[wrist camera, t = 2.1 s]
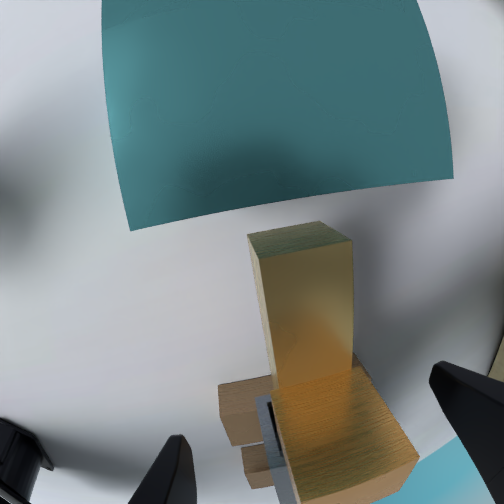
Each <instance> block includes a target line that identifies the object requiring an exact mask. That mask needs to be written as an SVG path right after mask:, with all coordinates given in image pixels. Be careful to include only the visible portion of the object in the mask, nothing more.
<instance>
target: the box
mask: <svg viewBox="0 0 504 504" xmlns="http://www.w3.org/2000/svg"><path fill="white" fill-rule="evenodd" d="M488 377H490V378H493V379H496V380H499V381H502V382H504V336H503V339H502V342H501V345H500V348H499V350H498V353H497V356H496V358H495V361H494V363H493V366H492V368H491V371H490V373H489V375H488Z"/></svg>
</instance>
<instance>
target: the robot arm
mask: <svg viewBox="0 0 504 504" xmlns="http://www.w3.org/2000/svg"><path fill="white" fill-rule="evenodd" d="M429 384H430V387H431V389H432V390H433V392H434V394H435V396H436V398H437V400H438V402H439V405H440V407H441V409H442V411H443V412H444V414H445V416H446V418H447V419H448V421H449V423H450V424H451V426H452V427H453V429H454V431H455V432H456V434H457V435H458V437H459V438H460V440H461V442H462V444H463V445H464V447H465V448H466V450H467V452H468V454H469V455H470V457H471V459H472V460H473V462H474V464H475V466H476V468H477V469H478V471H479V473H480V475H481V476H482V478H483V480H484V482H485V484H486V486H487V488H488V490H489V492H490V494H491V496H492V498H493V499H494V501H495V503H496V504H504V382H502V381H499V380H496V379H493V378H490V377H487V376H484V375H482V374H479V373H476V372H473V371H470V370H468V369H465V368H462V367H459V366H457V365H454V364H451V363H449V362H446V361H440V362H438V363H436V364H434V365H433V367H432V371H431V374H430V378H429ZM40 467H43V468H45V469H47V470H50V471H53V470H54V467H53V465H52V463H51V462H50V460H49V459H48V457H47V455H46V454H45V452H44V450H43V449H42V447H41V445H40V444H39V442H38V440H37V438H36V437H35V436H34V435H32V434H30V433H28V432H26V431H23V430H21V429H19V428H17V427H15V426H13V425H11V424H8V423H6V422H4V421H2V420H0V504H11V503H12V504H31V503H30V502H29V500H30V497H31V494H32V491H33V488H34V484H35V481H36V478H37V475H38V473H39V470H40ZM1 496H2V497H3V498H4V499H3V498H2V497H1ZM5 499H6V500H7V501H6V500H5ZM8 501H9V502H10V503H9V502H8ZM128 504H197V488H196V480H195V472H194V465H193V456H192V450H191V447H190V445H189V444H188V442H187V440H186V439H185V437H184V436H183V435H182V434H179V435H171V436H170V437H169V438H168V440H167V442H166V443H165V445H164V447H163V448H162V450H161V451H160V453H159V455H158V456H157V458H156V460H155V461H154V463H153V464H152V466H151V468H150V469H149V471H148V472H147V474H146V476H145V477H144V479H143V480H142V482H141V483H140V485H139V487H138V488H137V490H136V491H135V493H134V494H133V496H132V498H131V499H130V501H129V502H128Z"/></svg>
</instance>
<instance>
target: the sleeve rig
mask: <svg viewBox="0 0 504 504" xmlns="http://www.w3.org/2000/svg"><path fill="white" fill-rule="evenodd" d="M102 55H103V71H104V83H105V94H106V103H107V111H108V119H109V126H110V133H111V140H112V146H113V152H114V158H115V163H116V169H117V174H118V179H119V184H120V189H121V193H122V198H123V203H124V207H125V211H126V215H127V220H128V224H129V228H130V231H134V230H138V229H142V228H147V227H151V226H156V225H160V224H165V223H169V222H174V221H179V220H184V219H188V218H193V217H198V216H203V215H208V214H213V213H218V212H223V211H229V210H234V209H239V208H245V207H250V206H256V205H261V204H267V203H273V202H279V201H285V200H291V199H297V198H303V197H309V196H316V195H322V194H329V193H336V192H343V191H350V190H357V189H364V188H372V187H380V186H388V185H396V184H405V183H414V182H423V181H433V180H443V179H454V177H453V160H452V148H451V138H450V130H449V122H448V115H447V109H446V103H445V98H444V92H443V87H442V83H441V78H440V74H439V69H438V65H437V61H436V58H435V54H434V50H433V47H432V43H431V40H430V37H429V34H428V31H427V28H426V25H425V22H424V19H423V16H422V13H421V11H420V8H419V6H418V3H417V0H102ZM358 366H360V367H361V368H362V370H363V371H364V373H365V374H366V376H367V377H368V379H369V380H370V382H371V377H370V375H369V374H368V372H367V371H366V369H365V368H364V367H363V365H362V364H361V362H360V361H359V359H358V358H357V356H356V355H355V354H354V353H352V368H355V367H358ZM271 390H274V388H273V382H272V376H271V375H269V376H264V377H260V378H255V379H250V380H245V381H239V382H234V383H228V384H222V385H218V396H219V411H220V418H221V421H222V423H223V425H224V428H225V430H226V433H227V435H228V437H229V440H230V442H231V445H232V446H238V445H244V444H250V443H255V442H260V441H264V444H261V445H256V446H250V447H244V448H241V452H242V459H243V465H244V472H245V476H246V478H247V480H248V482H249V484H250V486H251V488H252V489H257V488H263V487H268V486H275V489H276V492H277V495H278V499H279V502H280V504H297V502H296V498H295V494H294V491H293V487H292V484H291V480H290V476H289V473H288V469H287V465H286V462H285V458H284V454H283V451H282V447H281V443H280V439H279V436H278V432H277V426H276V421H275V416H274V411H273V406H272V400H271V395H270V391H271Z"/></svg>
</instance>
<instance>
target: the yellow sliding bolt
mask: <svg viewBox="0 0 504 504" xmlns="http://www.w3.org/2000/svg"><path fill="white" fill-rule="evenodd" d="M247 238H248V244H249V250H250V256H251V261H252V267H253V273H254V279H255V284H256V290H257V296H258V302H259V307H260V313H261V319H262V325H263V330H264V336H265V342H266V348H267V353H268V359H269V365H270V371H271V376H272V382H273V388H274V390H271V391H270V395H271V400H272V406H273V411H274V416H275V421H276V426H277V432H278V436H279V439H280V443H281V447H282V451H283V454H284V458H285V462H286V465H287V469H288V473H289V476H290V480H291V484H292V487H293V491H294V494H295V498H296V502H297V504H370V503H372V502H375V501H377V500H380V499H382V498H384V497H386V496H389V495H391V494H393V493H395V492H397V491H399V490H400V488H401V487H402V485H403V484H404V482H405V481H406V479H407V478H408V476H409V475H410V473H411V471H412V470H413V468H414V466H415V465H416V463H417V461H418V460H419V458H420V456H419V455H418V453H417V451H416V450H415V448H414V447H413V445H412V444H411V442H410V441H409V439H408V437H407V436H406V434H405V433H404V431H403V430H402V428H401V427H400V425H399V424H398V422H397V421H396V419H395V418H394V416H393V415H392V413H391V411H390V410H389V408H388V407H387V405H386V404H385V402H384V401H383V399H382V398H381V396H380V395H379V393H378V392H377V390H376V389H375V387H374V386H373V385H372V383H371V382H370V380H369V379H368V377H367V376H366V374H365V373H364V371H363V370H362V368H361V367H360V366H358V367H355V368H352V351H353V316H354V287H353V251H352V240H350V239H349V238H347V237H346V236H344V235H342V234H341V233H339V232H337V231H336V230H334V229H332V228H331V227H329V226H327V225H326V224H324V223H322V222H321V221H316V222H310V223H305V224H299V225H294V226H288V227H283V228H277V229H272V230H267V231H261V232H256V233H251V234H247Z"/></svg>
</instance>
